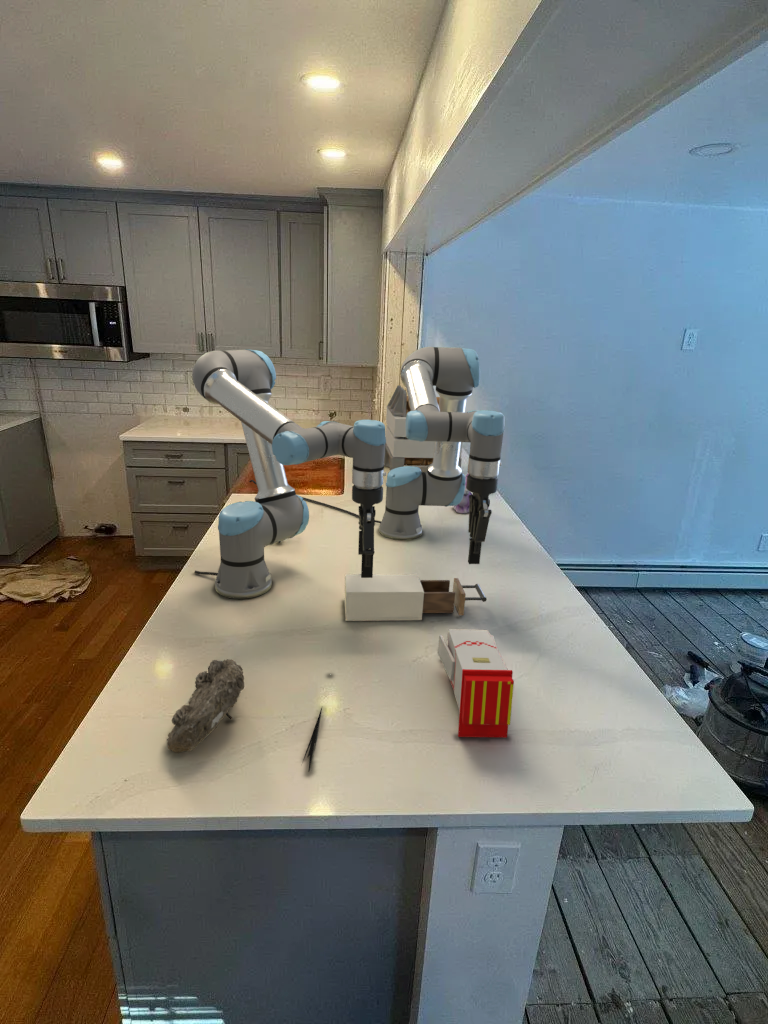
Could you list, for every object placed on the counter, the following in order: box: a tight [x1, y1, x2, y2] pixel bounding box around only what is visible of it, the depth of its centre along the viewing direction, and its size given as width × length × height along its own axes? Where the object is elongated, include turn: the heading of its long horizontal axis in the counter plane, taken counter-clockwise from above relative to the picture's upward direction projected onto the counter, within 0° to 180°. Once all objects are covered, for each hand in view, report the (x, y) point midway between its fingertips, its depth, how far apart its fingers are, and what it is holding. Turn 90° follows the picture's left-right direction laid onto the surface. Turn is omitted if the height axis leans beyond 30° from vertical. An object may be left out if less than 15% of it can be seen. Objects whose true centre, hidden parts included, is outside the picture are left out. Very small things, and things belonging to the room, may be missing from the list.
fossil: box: [166, 658, 245, 754], centre depth 106 cm, size 22×10×15 cm
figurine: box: [453, 472, 473, 514], centre depth 224 cm, size 9×10×15 cm
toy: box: [437, 628, 515, 738], centre depth 117 cm, size 12×13×30 cm
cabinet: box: [343, 573, 424, 622], centre depth 148 cm, size 20×10×8 cm, turn 95°
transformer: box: [384, 384, 464, 471], centre depth 268 cm, size 34×33×41 cm
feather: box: [301, 673, 332, 771], centre depth 108 cm, size 2×28×2 cm
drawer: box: [420, 577, 488, 616], centre depth 149 cm, size 24×9×6 cm, turn 95°
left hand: (365, 565), depth 144 cm, fingers open, 13 cm apart
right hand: (473, 562), depth 147 cm, fingers closed
